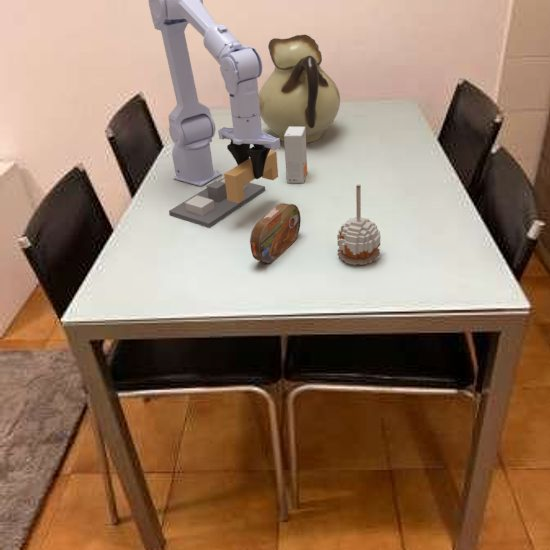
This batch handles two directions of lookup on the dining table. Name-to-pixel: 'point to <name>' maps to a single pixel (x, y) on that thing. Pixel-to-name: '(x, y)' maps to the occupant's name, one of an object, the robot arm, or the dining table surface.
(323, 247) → the dining table surface
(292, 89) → the beige sack vase
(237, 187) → the frame
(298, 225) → the tin
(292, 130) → the skincare box
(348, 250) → the caramel apple
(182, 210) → the stand
